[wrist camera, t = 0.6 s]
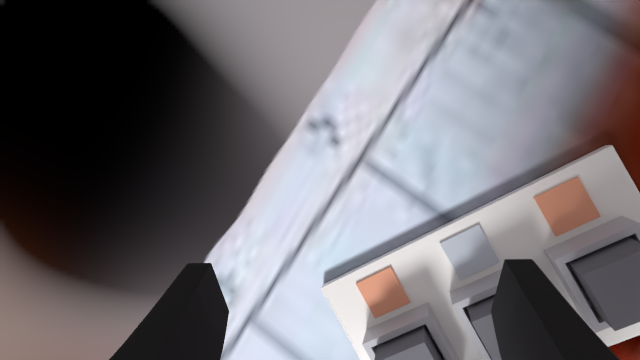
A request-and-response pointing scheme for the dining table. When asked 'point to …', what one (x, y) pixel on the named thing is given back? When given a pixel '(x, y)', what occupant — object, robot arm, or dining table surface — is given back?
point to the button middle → (485, 324)
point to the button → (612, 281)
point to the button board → (492, 259)
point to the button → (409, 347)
